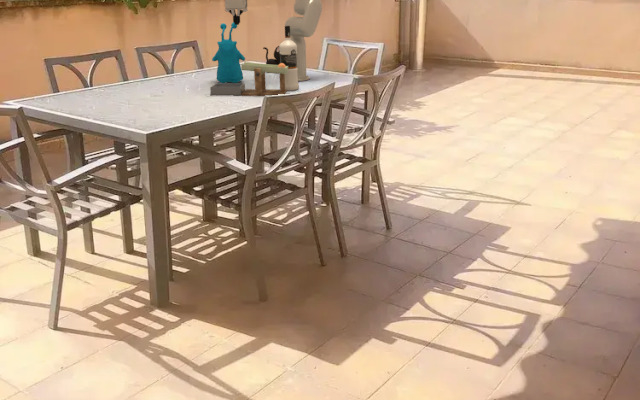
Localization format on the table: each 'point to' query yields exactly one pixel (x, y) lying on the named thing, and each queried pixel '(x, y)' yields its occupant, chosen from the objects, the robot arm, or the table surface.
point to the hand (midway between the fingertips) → (236, 24)
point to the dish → (228, 89)
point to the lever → (264, 68)
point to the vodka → (289, 61)
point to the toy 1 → (228, 59)
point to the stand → (264, 86)
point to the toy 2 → (276, 56)
